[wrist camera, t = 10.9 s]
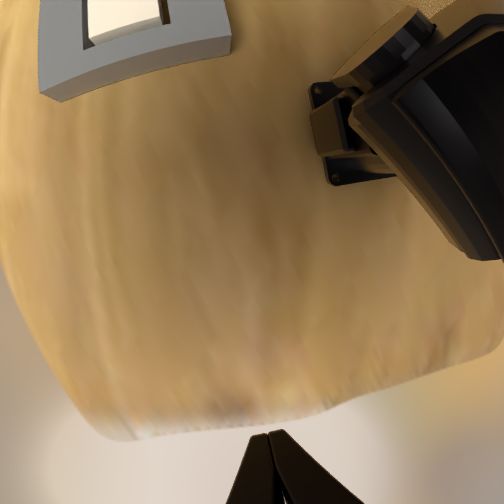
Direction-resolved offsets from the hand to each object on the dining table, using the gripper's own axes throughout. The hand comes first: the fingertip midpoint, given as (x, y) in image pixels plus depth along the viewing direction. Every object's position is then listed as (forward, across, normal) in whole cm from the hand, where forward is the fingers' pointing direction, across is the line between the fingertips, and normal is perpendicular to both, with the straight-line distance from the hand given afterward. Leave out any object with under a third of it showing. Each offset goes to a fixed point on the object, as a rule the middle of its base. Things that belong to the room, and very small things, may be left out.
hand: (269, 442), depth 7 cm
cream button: (+13, +3, -18) cm, 22 cm away
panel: (+13, +3, -26) cm, 29 cm away
